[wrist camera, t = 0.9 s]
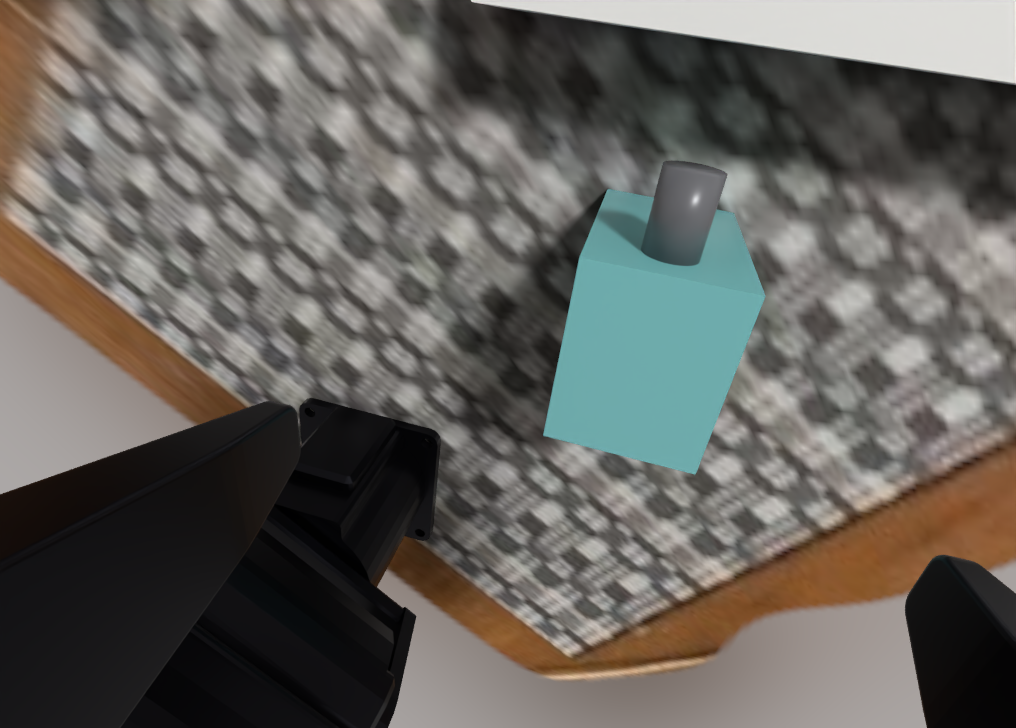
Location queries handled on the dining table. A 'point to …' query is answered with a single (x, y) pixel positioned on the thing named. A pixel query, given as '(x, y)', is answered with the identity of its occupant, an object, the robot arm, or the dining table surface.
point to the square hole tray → (827, 28)
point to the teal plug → (655, 322)
